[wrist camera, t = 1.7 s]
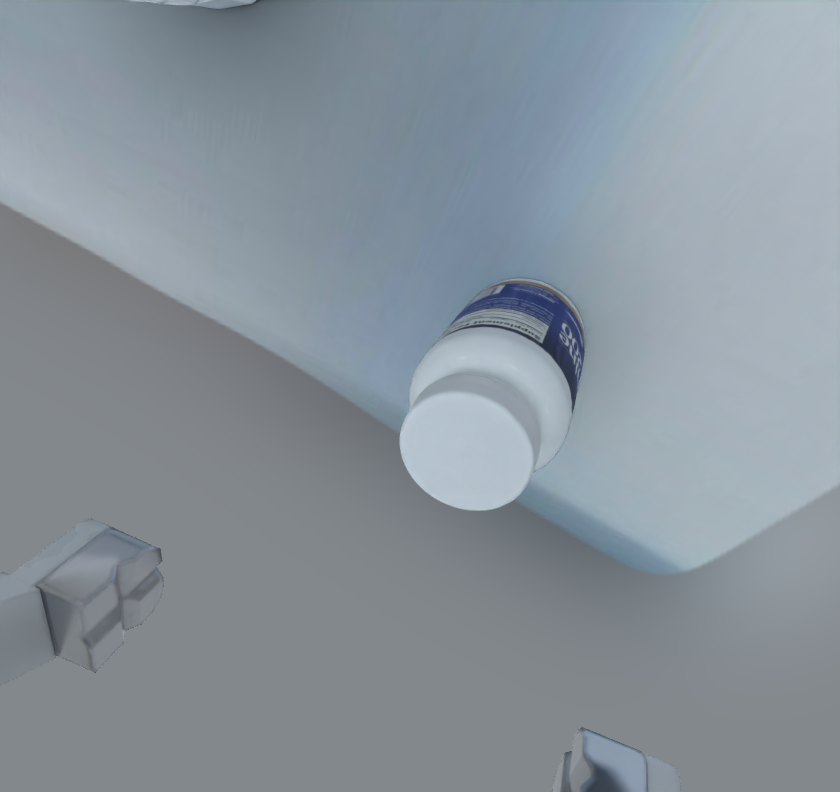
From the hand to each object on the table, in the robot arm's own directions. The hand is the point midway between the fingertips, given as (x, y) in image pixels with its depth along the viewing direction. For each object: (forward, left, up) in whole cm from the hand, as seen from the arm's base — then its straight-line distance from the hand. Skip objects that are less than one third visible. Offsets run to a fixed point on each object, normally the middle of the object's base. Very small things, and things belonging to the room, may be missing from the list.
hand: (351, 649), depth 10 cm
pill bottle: (0, 0, -17) cm, 17 cm away
